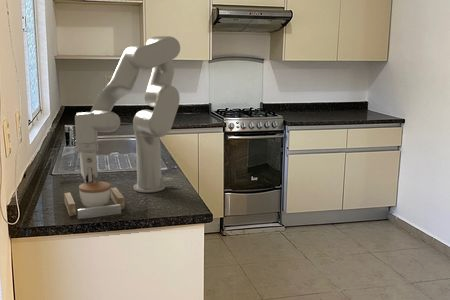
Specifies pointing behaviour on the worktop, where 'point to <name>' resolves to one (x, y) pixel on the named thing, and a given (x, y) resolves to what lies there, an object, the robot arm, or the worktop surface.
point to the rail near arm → (117, 197)
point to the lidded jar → (94, 193)
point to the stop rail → (99, 211)
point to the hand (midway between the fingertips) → (89, 195)
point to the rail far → (70, 204)
